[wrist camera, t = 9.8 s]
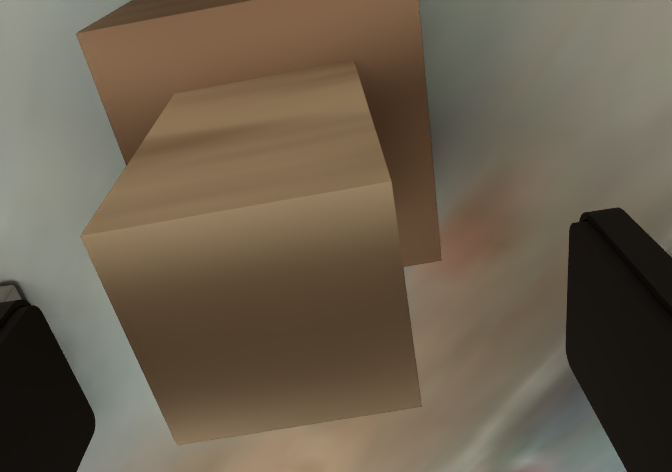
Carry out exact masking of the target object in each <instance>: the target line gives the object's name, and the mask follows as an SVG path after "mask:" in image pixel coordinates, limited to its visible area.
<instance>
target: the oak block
mask: <svg viewBox="0 0 672 472" xmlns="http://www.w3.org/2000/svg"><path fill="white" fill-rule="evenodd" d="M80 237H81V239H82V241H83V243H84V246H85V248H86V250H87V252H88V254H89V256H90V259H91V261H92V263H93V265H94V267H95V269H96V271H97V274H98V276H99V278H100V280H101V282H102V284H103V287H104V289H105V291H106V293H107V295H108V297H109V300H110V302H111V304H112V306H113V308H114V310H115V313H116V315H117V317H118V319H119V321H120V323H121V326H122V328H123V330H124V332H125V334H126V336H127V339H128V341H129V343H130V345H131V347H132V349H133V351H134V354H135V356H136V358H137V360H138V362H139V364H140V367H141V369H142V371H143V373H144V375H145V377H146V380H147V382H148V384H149V386H150V388H151V390H152V393H153V395H154V397H155V399H156V401H157V403H158V406H159V408H160V410H161V412H162V414H163V416H164V418H165V421H166V423H167V425H168V427H169V429H170V431H171V434H172V436H173V438H174V440H175V442H176V444H177V445H184V444H190V443H196V442H202V441H209V440H215V439H221V438H228V437H234V436H240V435H246V434H253V433H259V432H265V431H272V430H278V429H284V428H291V427H297V426H303V425H309V424H316V423H322V422H328V421H335V420H341V419H347V418H353V417H360V416H366V415H372V414H379V413H385V412H391V411H397V410H404V409H410V408H416V407H422V403H421V396H420V389H419V381H418V374H417V366H416V359H415V352H414V344H413V337H412V329H411V322H410V315H409V307H408V300H407V292H406V285H405V277H404V270H403V263H402V255H401V248H400V240H399V233H398V226H397V218H396V211H395V203H394V196H393V189H392V181H391V178H390V175H389V172H388V168H387V165H386V162H385V159H384V156H383V152H382V149H381V146H380V143H379V140H378V136H377V133H376V130H375V127H374V123H373V120H372V117H371V114H370V111H369V107H368V104H367V101H366V98H365V95H364V91H363V88H362V85H361V82H360V79H359V75H358V72H357V69H356V66H355V63H354V60H353V61H347V62H342V63H337V64H331V65H326V66H321V67H315V68H310V69H305V70H299V71H294V72H288V73H283V74H278V75H272V76H267V77H262V78H256V79H251V80H246V81H240V82H235V83H229V84H224V85H219V86H213V87H208V88H203V89H197V90H192V91H186V92H181V93H176V94H174V95H173V97H172V98H171V100H170V101H169V103H168V104H167V106H166V107H165V109H164V110H163V112H162V113H161V115H160V116H159V118H158V119H157V121H156V122H155V124H154V125H153V127H152V128H151V130H150V131H149V133H148V134H147V136H146V137H145V139H144V140H143V142H142V144H141V145H140V147H139V148H138V150H137V151H136V153H135V154H134V156H133V157H132V159H131V160H130V162H129V163H128V165H127V166H126V168H125V169H124V171H123V172H122V174H121V175H120V177H119V178H118V180H117V181H116V183H115V184H114V186H113V187H112V189H111V190H110V192H109V193H108V195H107V196H106V198H105V199H104V201H103V202H102V204H101V205H100V207H99V208H98V210H97V211H96V213H95V214H94V216H93V217H92V219H91V221H90V222H89V224H88V225H87V227H86V228H85V230H84V231H83V233H82V234H81V236H80Z"/></svg>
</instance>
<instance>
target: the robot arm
mask: <svg viewBox="0 0 672 472" xmlns="http://www.w3.org/2000/svg"><path fill="white" fill-rule="evenodd" d="M566 354H567V359H568V362H569V365H570V367H571V369H572V371H573V373H574V375H575V377H576V379H577V380H578V382H579V384H580V386H581V388H582V390H583V391H584V393H585V395H586V397H587V399H588V401H589V402H590V404H591V406H592V408H593V410H594V412H595V413H596V415H597V417H598V419H599V421H600V423H601V424H602V426H603V428H604V430H605V432H606V434H607V435H608V437H609V439H610V441H611V443H612V445H613V446H614V448H615V450H616V452H617V454H618V456H619V457H620V459H621V461H622V463H623V465H624V467H625V468H626V470H627V472H672V257H671V256H670V255H669V254H668V253H666V252H665V251H664V250H663V249H662V248H661V247H660V246H659V245H658V244H657V243H656V242H655V241H654V240H653V239H652V238H651V237H650V236H649V235H648V234H647V233H646V232H645V231H644V230H643V229H642V228H641V227H640V226H639V225H638V224H637V223H636V222H635V221H634V220H633V219H632V218H631V217H630V216H629V215H628V214H627V213H626V212H625V211H624V210H622V209H621V208H611V209H605V210H598V211H592V212H585V213H583V214H582V215H581V217H580V221H579V222H576V223H572V224H571V226H570V231H569V258H568V290H567V322H566ZM94 430H95V416H94V413H93V411H92V409H91V407H90V405H89V403H88V401H87V399H86V397H85V395H84V393H83V391H82V389H81V387H80V385H79V383H78V381H77V379H76V377H75V375H74V374H73V372H72V370H71V368H70V366H69V364H68V362H67V360H66V358H65V356H64V354H63V352H62V350H61V348H60V346H59V344H58V342H57V340H56V338H55V336H54V334H53V333H52V331H51V329H50V327H49V325H48V323H47V321H46V319H45V317H44V315H43V313H42V311H41V310H40V309H39V308H38V307H37V306H31V304H30V303H29V302H27V301H26V300H22V299H20V300H13V301H7V302H0V472H77V470H78V467H79V465H80V463H81V461H82V458H83V456H84V454H85V452H86V449H87V447H88V445H89V443H90V441H91V438H92V436H93V434H94Z"/></svg>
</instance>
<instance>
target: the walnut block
mask: <svg viewBox="0 0 672 472" xmlns="http://www.w3.org/2000/svg"><path fill="white" fill-rule="evenodd" d="M76 35H77V37H78V40H79V43H80V45H81V48H82V51H83V53H84V56H85V58H86V61H87V64H88V66H89V69H90V71H91V74H92V77H93V79H94V82H95V85H96V87H97V90H98V92H99V95H100V98H101V100H102V103H103V105H104V108H105V111H106V113H107V116H108V119H109V121H110V124H111V126H112V129H113V132H114V134H115V137H116V139H117V142H118V145H119V147H120V150H121V153H122V155H123V158H124V160H125V163H126V166H127V165H128V163H129V162H130V160H131V159H132V157H133V156H134V154H135V153H136V151H137V150H138V148H139V147H140V145H141V144H142V142H143V140H144V139H145V137H146V136H147V134H148V133H149V131H150V130H151V128H152V127H153V125H154V124H155V122H156V121H157V119H158V118H159V116H160V115H161V113H162V112H163V110H164V109H165V107H166V106H167V104H168V103H169V101H170V100H171V98H172V97H173V95H174V94H176V93H181V92H186V91H192V90H197V89H203V88H208V87H213V86H219V85H224V84H229V83H235V82H240V81H246V80H251V79H256V78H262V77H267V76H272V75H278V74H283V73H288V72H294V71H299V70H305V69H310V68H315V67H321V66H326V65H331V64H337V63H342V62H347V61H353V60H354V63H355V66H356V69H357V72H358V75H359V79H360V82H361V85H362V88H363V91H364V95H365V98H366V101H367V104H368V107H369V111H370V114H371V117H372V120H373V123H374V127H375V130H376V133H377V136H378V140H379V143H380V146H381V149H382V152H383V156H384V159H385V162H386V165H387V168H388V172H389V175H390V178H391V181H392V189H393V196H394V203H395V211H396V218H397V226H398V233H399V240H400V248H401V255H402V263H403V267H405V266H411V265H417V264H423V263H429V262H435V261H441V260H442V259H441V248H440V237H439V225H438V214H437V203H436V191H435V180H434V169H433V157H432V146H431V135H430V124H429V112H428V101H427V90H426V78H425V67H424V56H423V44H422V33H421V22H420V10H419V0H133V1H130V2H128V3H127V4H125V5H123V6H122V7H120V8H118V9H116V10H115V11H113V12H111V13H110V14H108V15H106V16H105V17H103V18H101V19H100V20H98V21H96V22H94V23H93V24H91V25H89V26H88V27H86V28H84V29H83V30H81V31H79V32H78V33H76Z"/></svg>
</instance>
